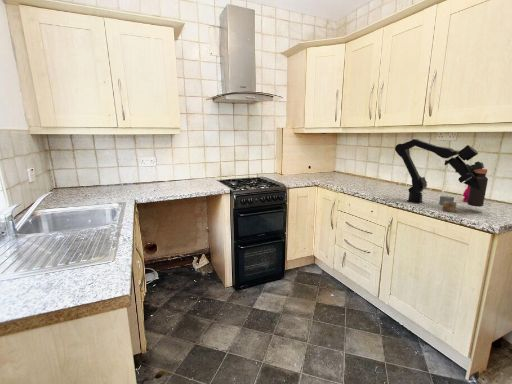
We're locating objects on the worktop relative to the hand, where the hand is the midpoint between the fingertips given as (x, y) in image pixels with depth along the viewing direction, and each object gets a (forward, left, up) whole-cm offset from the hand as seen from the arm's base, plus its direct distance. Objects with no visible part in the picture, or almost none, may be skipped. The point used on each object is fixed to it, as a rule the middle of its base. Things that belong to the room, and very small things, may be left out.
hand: (481, 188), depth 143 cm
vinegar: (-1, 0, -10) cm, 10 cm away
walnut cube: (-9, -10, -13) cm, 19 cm away
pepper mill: (-13, +24, -13) cm, 30 cm away
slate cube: (-17, +4, -13) cm, 22 cm away
